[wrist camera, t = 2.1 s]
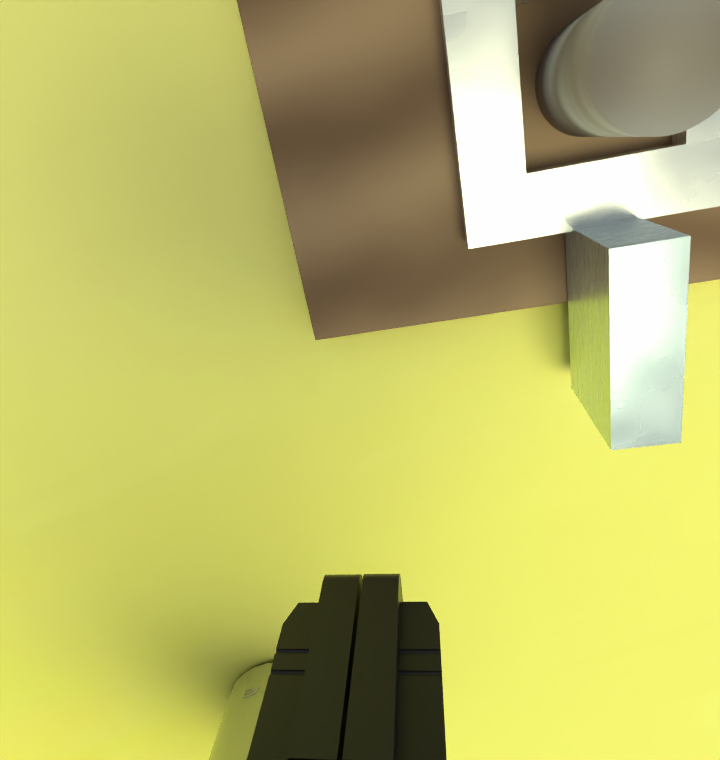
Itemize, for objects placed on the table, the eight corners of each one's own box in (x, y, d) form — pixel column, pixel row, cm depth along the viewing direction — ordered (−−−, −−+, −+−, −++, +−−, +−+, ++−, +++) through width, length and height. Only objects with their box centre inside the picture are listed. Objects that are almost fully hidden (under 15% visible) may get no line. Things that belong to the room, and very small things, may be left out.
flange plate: (432, -58, 19) (439, -129, 14) (761, -143, 17) (903, -257, 12) (483, 398, 26) (500, 462, 21) (722, 368, 24) (803, 428, 19)
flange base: (899, 243, 23) (1136, 294, 15) (319, 331, 27) (283, 407, 19) (1010, -329, 16) (1517, -726, 9) (221, -102, 20) (108, -244, 13)
